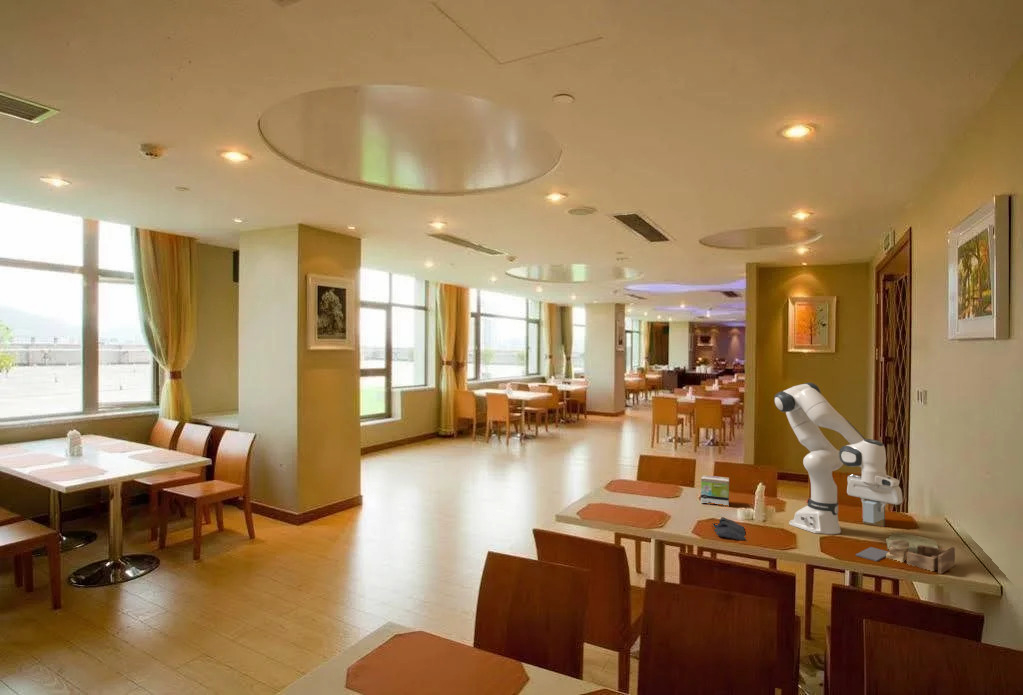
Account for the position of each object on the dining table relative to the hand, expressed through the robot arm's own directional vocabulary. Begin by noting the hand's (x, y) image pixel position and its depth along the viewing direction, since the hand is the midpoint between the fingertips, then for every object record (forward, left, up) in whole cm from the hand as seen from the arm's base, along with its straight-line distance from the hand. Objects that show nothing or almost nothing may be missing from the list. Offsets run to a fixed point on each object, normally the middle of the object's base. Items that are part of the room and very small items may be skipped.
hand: (873, 510), depth 234 cm
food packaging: (-19, +50, -19) cm, 57 cm away
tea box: (-86, +14, -19) cm, 89 cm away
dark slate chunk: (-53, -25, -20) cm, 61 cm away
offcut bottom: (+8, +5, -20) cm, 22 cm away
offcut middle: (+8, +5, -17) cm, 19 cm away
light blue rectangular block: (0, 0, -4) cm, 4 cm away
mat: (0, 0, -19) cm, 19 cm away
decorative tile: (+6, +24, -20) cm, 32 cm away
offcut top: (+8, +5, -15) cm, 17 cm away
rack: (+18, +7, -19) cm, 27 cm away
